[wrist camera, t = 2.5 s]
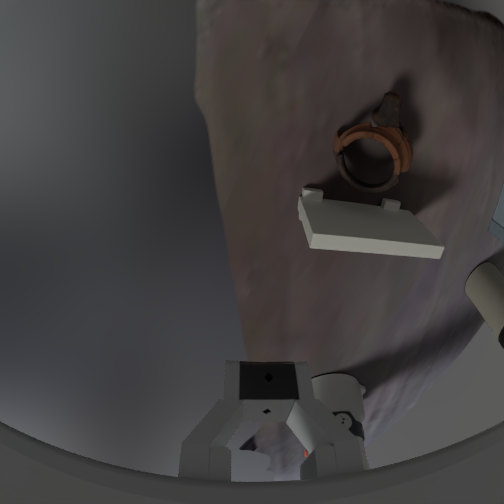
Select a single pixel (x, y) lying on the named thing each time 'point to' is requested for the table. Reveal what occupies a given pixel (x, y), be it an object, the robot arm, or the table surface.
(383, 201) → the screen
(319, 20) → the table surface
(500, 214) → the handle
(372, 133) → the pottery mug
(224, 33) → the table surface
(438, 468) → the robot arm
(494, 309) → the travel mug
